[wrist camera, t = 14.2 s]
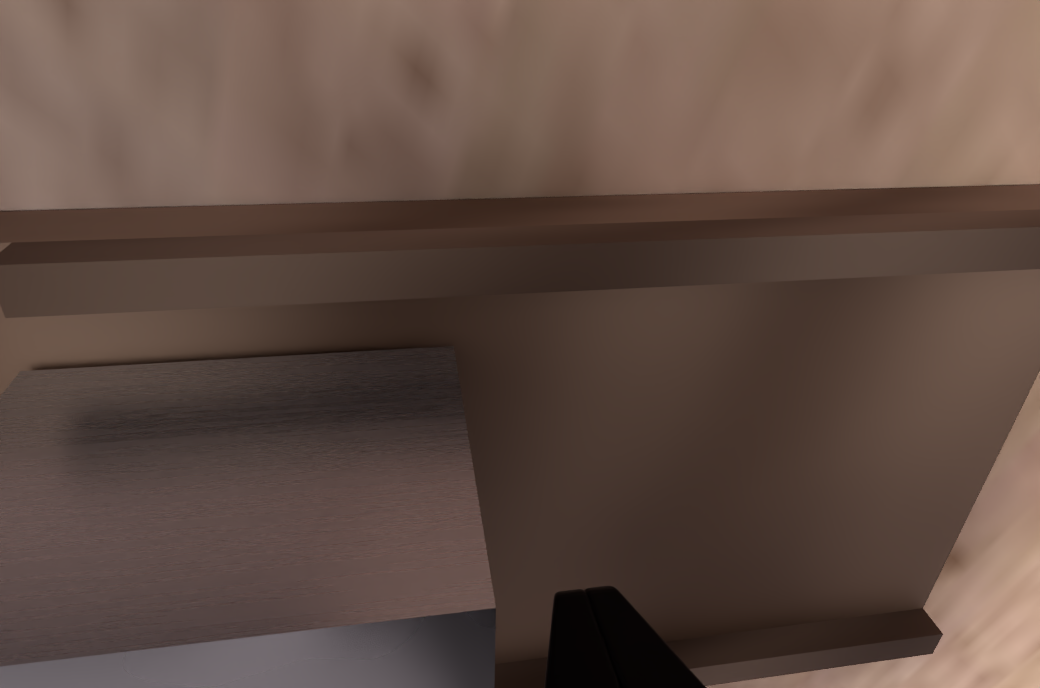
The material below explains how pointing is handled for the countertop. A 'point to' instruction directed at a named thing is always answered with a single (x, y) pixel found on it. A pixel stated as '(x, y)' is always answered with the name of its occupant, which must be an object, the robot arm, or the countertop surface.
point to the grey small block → (243, 526)
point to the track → (625, 381)
